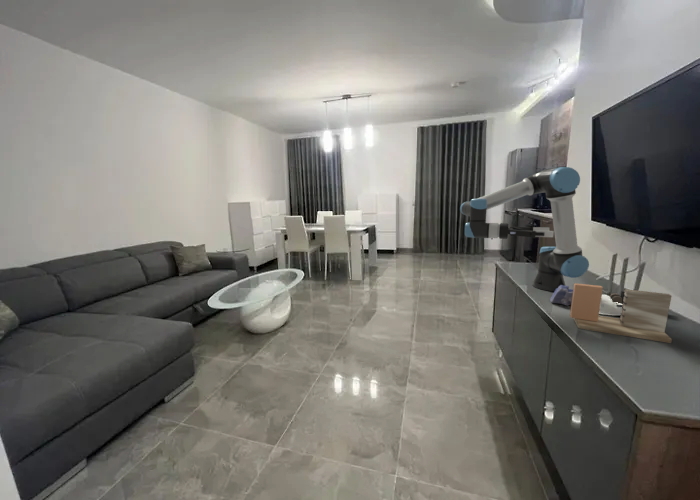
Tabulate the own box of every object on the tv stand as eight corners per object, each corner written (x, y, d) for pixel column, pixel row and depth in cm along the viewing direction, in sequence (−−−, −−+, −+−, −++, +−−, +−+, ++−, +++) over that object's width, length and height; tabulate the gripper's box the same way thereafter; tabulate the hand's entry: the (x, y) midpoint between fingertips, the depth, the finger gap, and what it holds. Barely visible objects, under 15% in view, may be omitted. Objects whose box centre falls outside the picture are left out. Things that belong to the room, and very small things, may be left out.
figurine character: (612, 310, 136) (659, 314, 127) (612, 294, 135) (659, 297, 126) (609, 306, 141) (654, 309, 132) (609, 290, 140) (655, 292, 131)
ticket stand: (572, 315, 128) (576, 280, 125) (654, 327, 115) (661, 289, 113) (578, 328, 116) (583, 290, 113) (671, 343, 103) (679, 300, 100)
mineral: (557, 287, 136) (551, 279, 146) (552, 306, 139) (546, 297, 148) (595, 293, 132) (586, 285, 141) (589, 313, 135) (580, 304, 144)
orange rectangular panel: (570, 315, 123) (574, 283, 120) (596, 319, 119) (601, 285, 116) (570, 317, 121) (575, 284, 118) (597, 321, 117) (602, 287, 114)
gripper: (498, 235, 156) (547, 236, 146) (497, 242, 134) (554, 244, 124) (499, 220, 154) (548, 221, 145) (498, 225, 132) (556, 226, 123)
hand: (551, 232), depth 134 cm, fingers open, 13 cm apart
